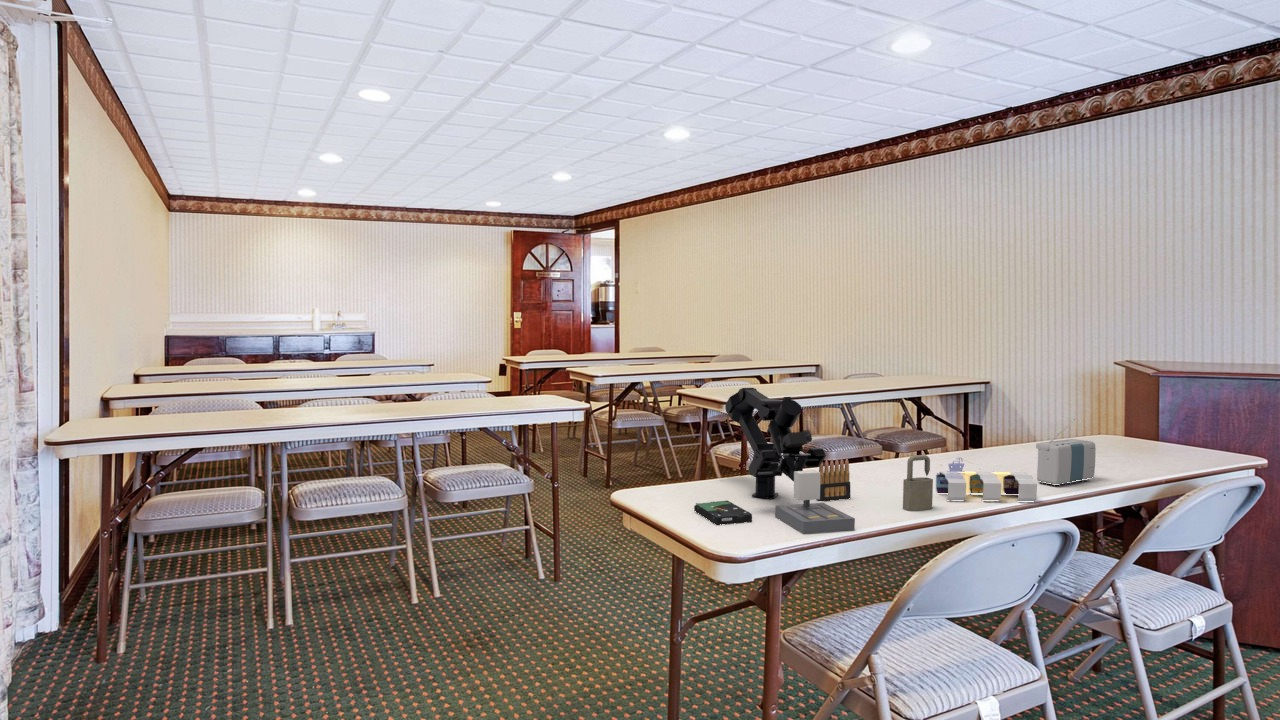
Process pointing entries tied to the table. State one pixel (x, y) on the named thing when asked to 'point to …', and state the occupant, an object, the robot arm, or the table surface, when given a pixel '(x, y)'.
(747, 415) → the robot arm
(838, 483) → the ammunition clip
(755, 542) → the table surface
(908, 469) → the padlock
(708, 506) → the disk drive
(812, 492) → the fader knob
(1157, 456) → the table surface
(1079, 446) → the stereo radio cassette player
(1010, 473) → the diorama
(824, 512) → the panel
